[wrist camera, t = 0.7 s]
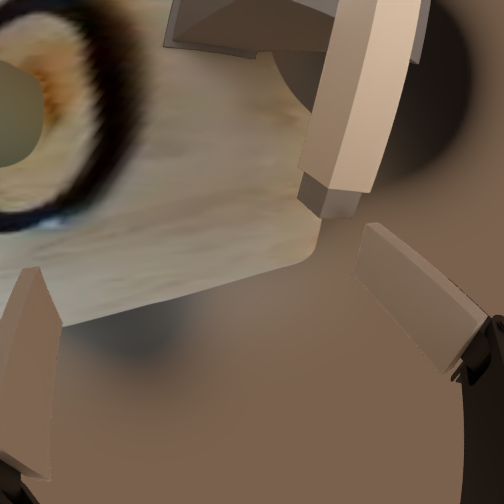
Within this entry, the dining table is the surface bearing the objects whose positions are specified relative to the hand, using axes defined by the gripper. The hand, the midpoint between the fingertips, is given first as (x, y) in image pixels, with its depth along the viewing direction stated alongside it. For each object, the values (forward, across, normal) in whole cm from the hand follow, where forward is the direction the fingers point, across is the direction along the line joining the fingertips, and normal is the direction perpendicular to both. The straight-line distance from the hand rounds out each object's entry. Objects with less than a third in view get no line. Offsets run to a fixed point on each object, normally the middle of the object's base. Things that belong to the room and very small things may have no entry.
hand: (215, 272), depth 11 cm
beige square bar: (+5, +9, +15) cm, 18 cm away
